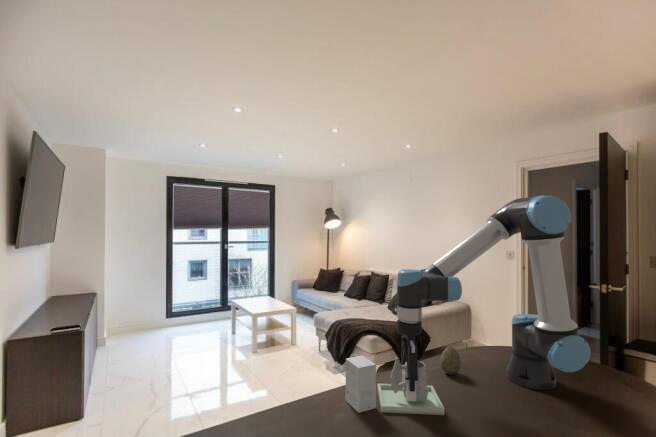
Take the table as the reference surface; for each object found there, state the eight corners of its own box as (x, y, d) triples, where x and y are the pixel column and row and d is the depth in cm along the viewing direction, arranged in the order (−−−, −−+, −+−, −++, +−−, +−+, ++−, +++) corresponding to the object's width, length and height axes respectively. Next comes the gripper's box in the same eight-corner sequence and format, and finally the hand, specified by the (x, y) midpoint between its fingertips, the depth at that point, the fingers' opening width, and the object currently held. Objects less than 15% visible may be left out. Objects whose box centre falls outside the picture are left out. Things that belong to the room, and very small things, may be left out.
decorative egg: (439, 375, 123) (439, 348, 123) (441, 368, 130) (441, 342, 130) (460, 379, 121) (460, 351, 121) (461, 371, 127) (461, 344, 127)
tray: (432, 391, 112) (432, 385, 112) (444, 415, 98) (444, 408, 98) (377, 389, 113) (377, 383, 113) (381, 412, 99) (381, 406, 99)
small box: (376, 408, 101) (376, 364, 101) (358, 413, 98) (358, 368, 98) (362, 395, 108) (362, 354, 108) (344, 400, 106) (345, 358, 106)
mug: (432, 402, 102) (432, 361, 102) (393, 403, 101) (393, 362, 101) (423, 389, 109) (423, 352, 110) (386, 390, 108) (387, 353, 109)
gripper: (392, 311, 116) (392, 378, 116) (402, 329, 96) (401, 411, 95) (415, 311, 116) (414, 379, 115) (429, 330, 95) (428, 412, 95)
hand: (408, 393), depth 105 cm, fingers closed on mug, 7 cm apart
